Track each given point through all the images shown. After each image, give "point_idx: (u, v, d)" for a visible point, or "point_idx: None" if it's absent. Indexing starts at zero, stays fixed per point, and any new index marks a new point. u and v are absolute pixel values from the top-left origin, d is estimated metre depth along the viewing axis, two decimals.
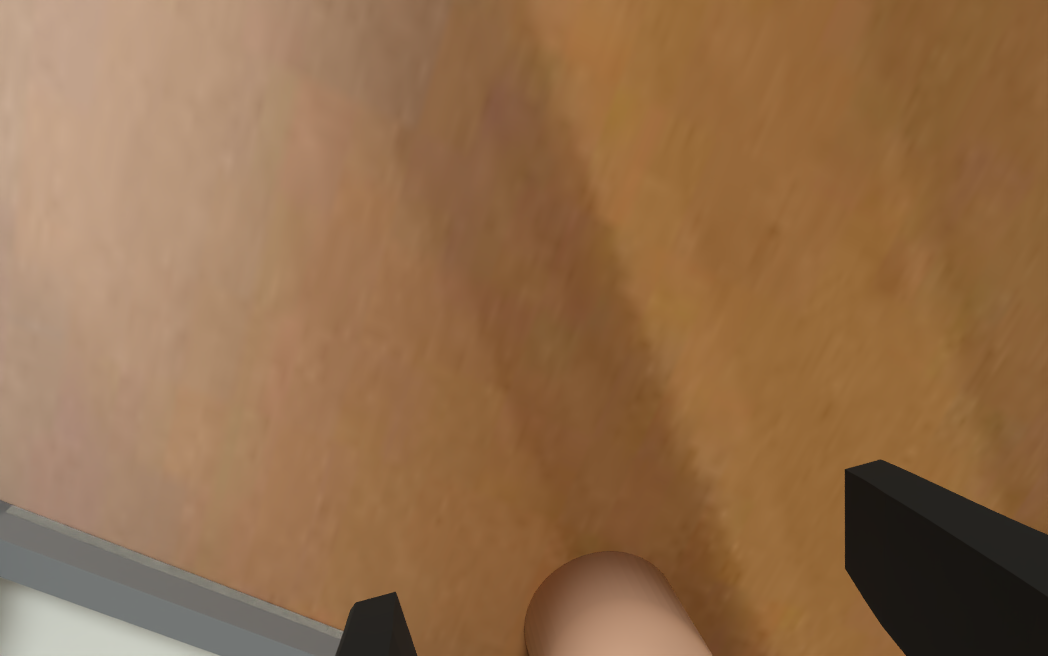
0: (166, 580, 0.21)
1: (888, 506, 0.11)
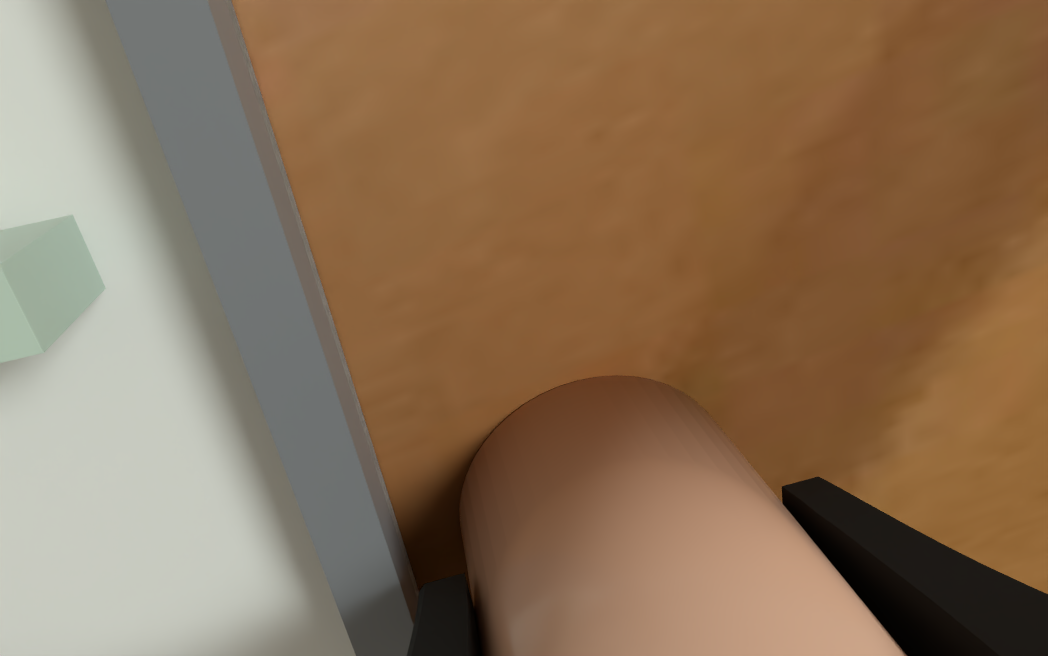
0: None
1: (820, 525, 0.10)
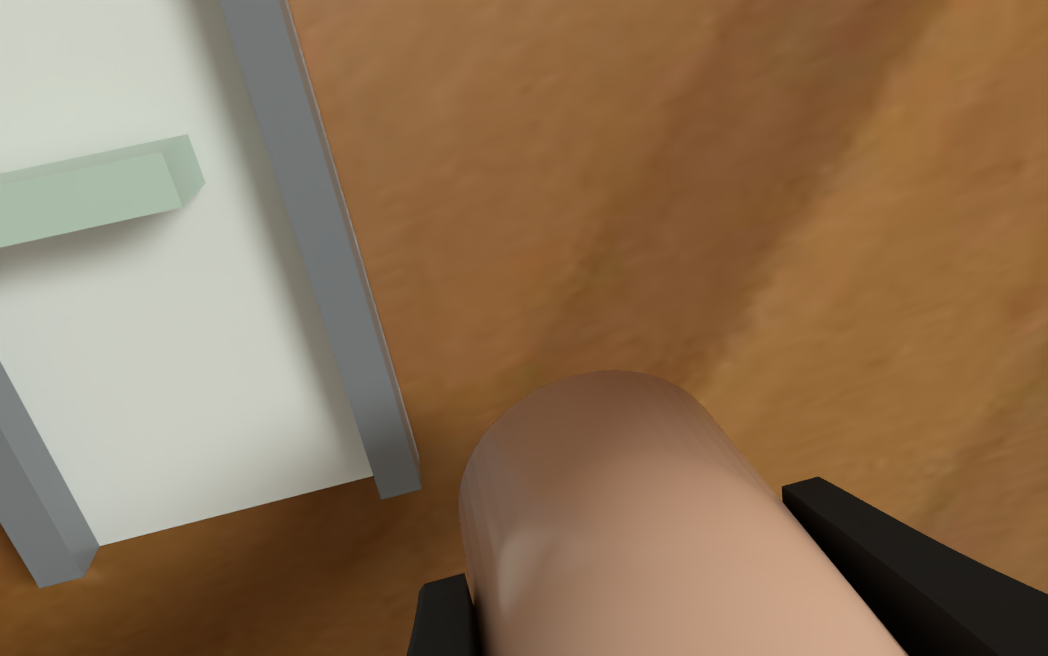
0: None
1: (820, 525, 0.10)
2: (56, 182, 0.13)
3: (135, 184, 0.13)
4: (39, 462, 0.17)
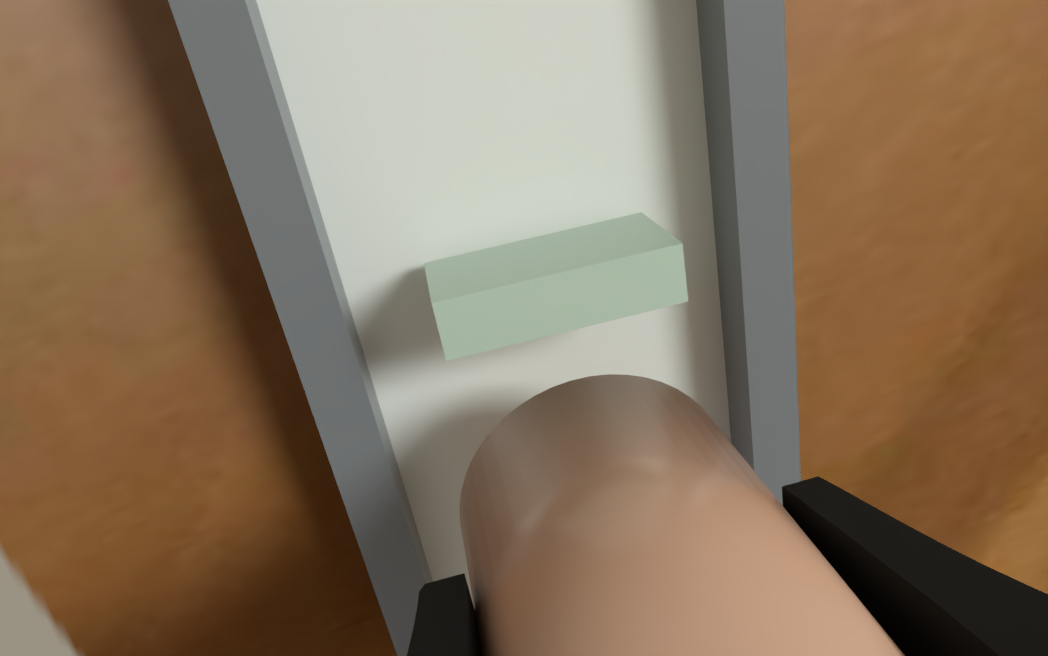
0: None
1: (819, 525, 0.10)
2: (569, 277, 0.12)
3: (648, 278, 0.12)
4: (422, 558, 0.15)
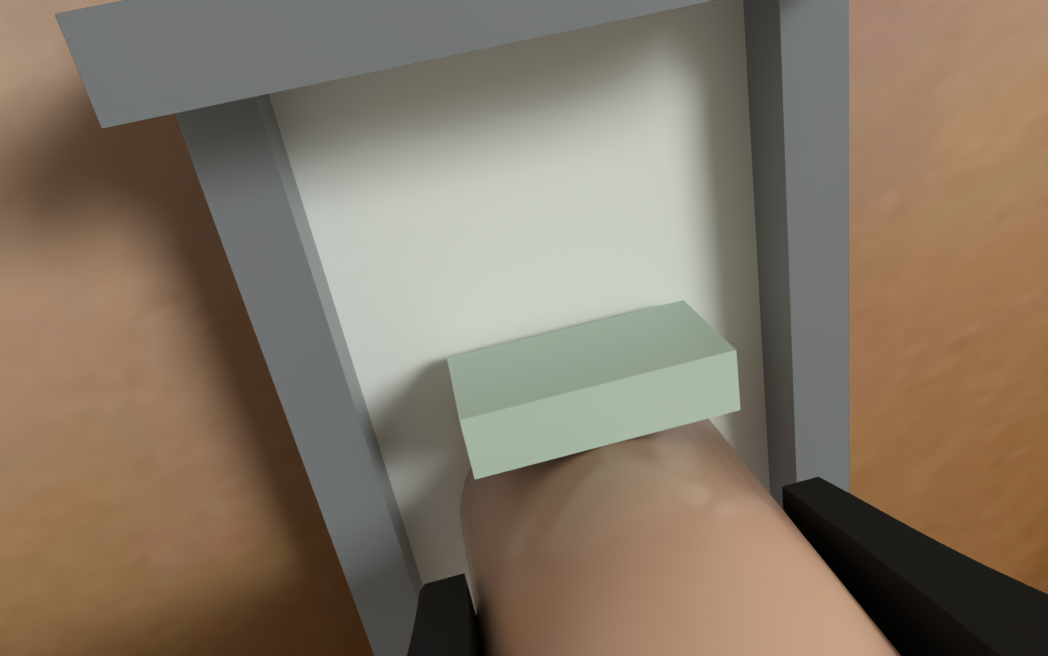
0: None
1: (819, 525, 0.10)
2: (612, 389, 0.11)
3: (697, 387, 0.11)
4: None
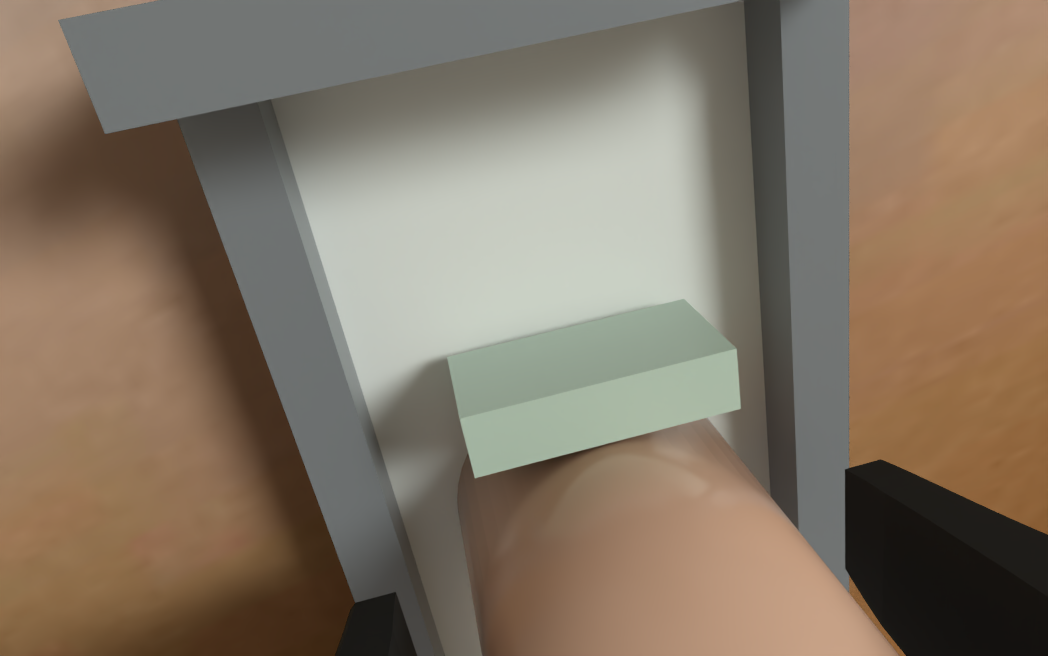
0: None
1: (888, 506, 0.11)
2: (612, 387, 0.11)
3: (698, 385, 0.11)
4: None
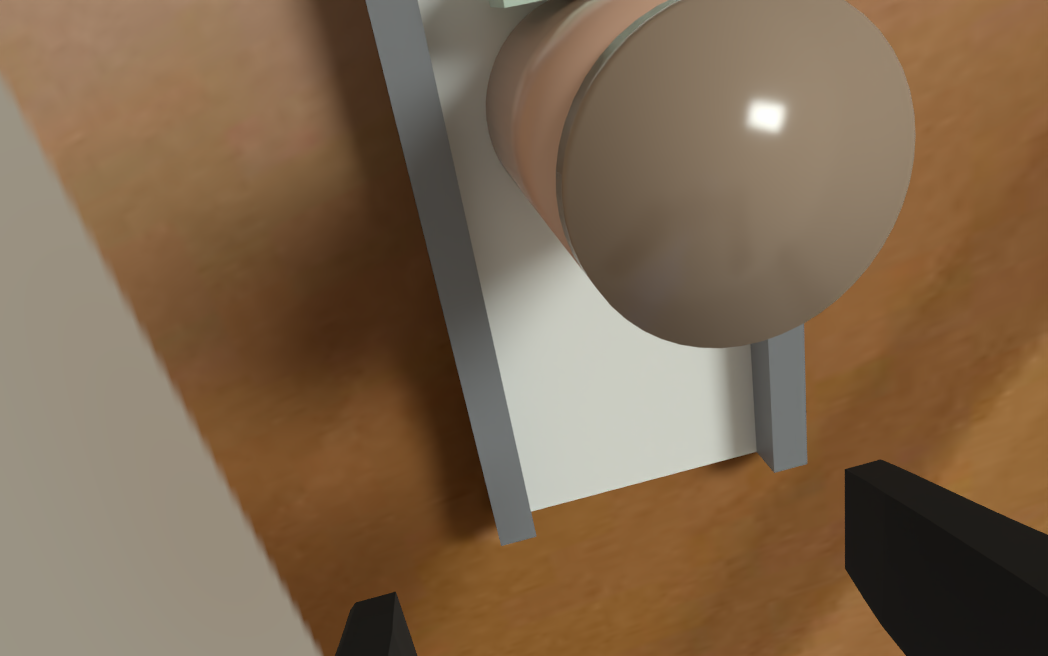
0: None
1: (888, 506, 0.11)
2: None
3: None
4: None
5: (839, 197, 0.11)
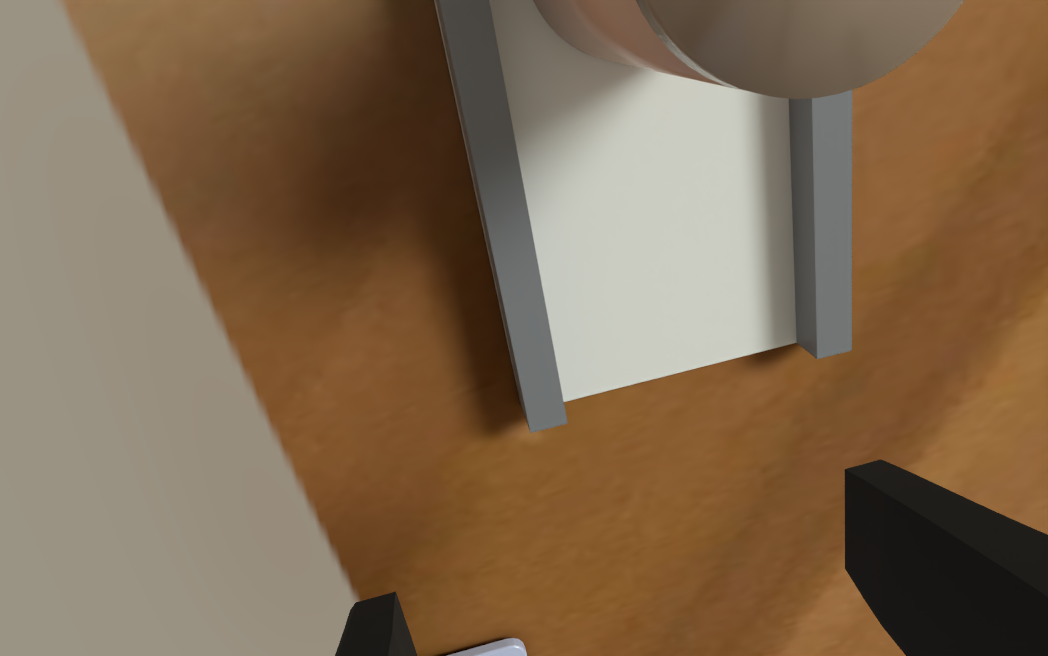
0: None
1: (888, 506, 0.11)
2: None
3: None
4: None
5: None
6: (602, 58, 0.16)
